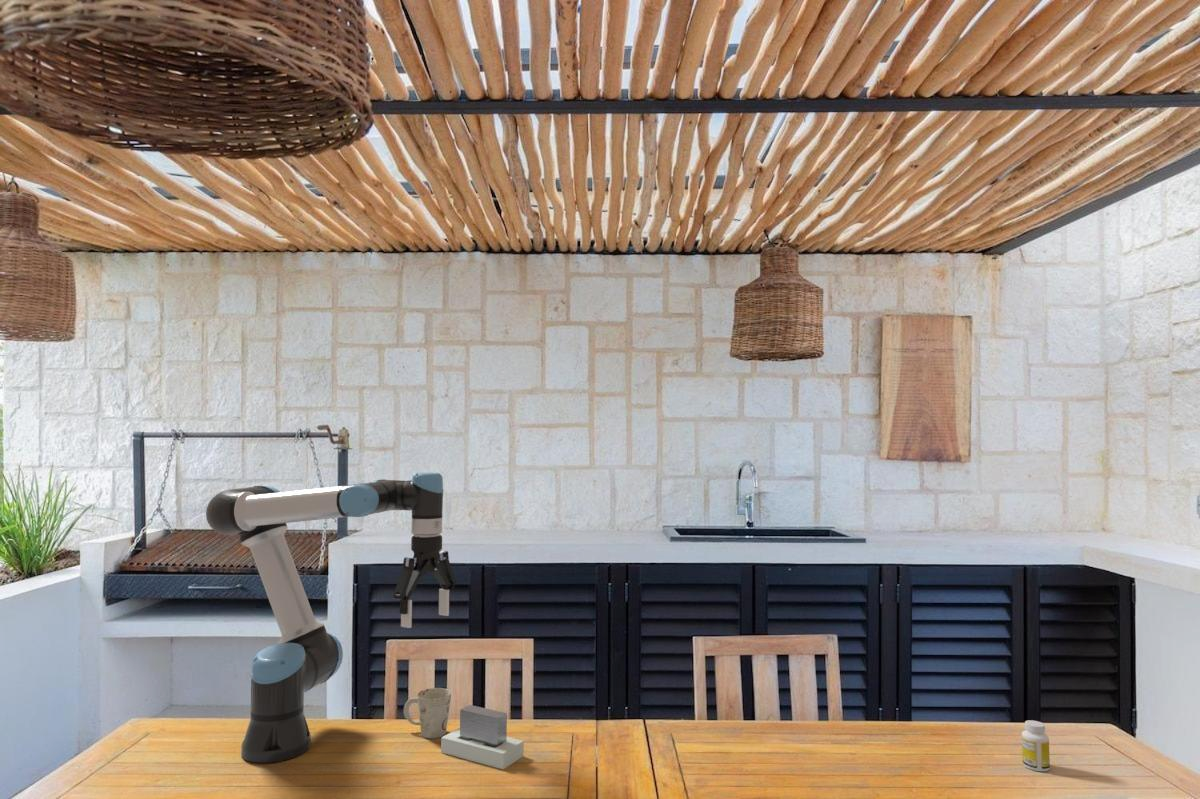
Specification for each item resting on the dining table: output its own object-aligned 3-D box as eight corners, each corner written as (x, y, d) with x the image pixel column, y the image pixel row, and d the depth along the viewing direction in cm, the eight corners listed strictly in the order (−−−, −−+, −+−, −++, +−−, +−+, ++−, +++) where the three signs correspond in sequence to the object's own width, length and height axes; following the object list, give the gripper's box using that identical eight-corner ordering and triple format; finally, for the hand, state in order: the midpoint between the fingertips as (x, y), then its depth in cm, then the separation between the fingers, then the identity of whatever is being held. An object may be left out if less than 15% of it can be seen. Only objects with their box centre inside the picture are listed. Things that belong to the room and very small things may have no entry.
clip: (459, 752, 177) (460, 709, 177) (468, 747, 180) (469, 704, 180) (497, 762, 171) (497, 718, 172) (506, 756, 174) (506, 713, 175)
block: (441, 752, 176) (441, 737, 177) (462, 740, 183) (463, 726, 184) (503, 769, 168) (503, 753, 168) (523, 756, 175) (523, 740, 175)
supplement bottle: (1046, 764, 172) (1045, 720, 173) (1052, 774, 167) (1051, 729, 168) (1020, 760, 174) (1019, 717, 175) (1025, 770, 169) (1024, 726, 169)
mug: (442, 742, 183) (443, 700, 183) (394, 737, 185) (395, 696, 186) (455, 728, 191) (456, 689, 191) (410, 724, 193) (410, 685, 194)
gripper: (402, 542, 174) (401, 634, 173) (470, 530, 196) (469, 612, 195) (378, 539, 177) (377, 630, 176) (448, 528, 199) (447, 608, 198)
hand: (425, 621), depth 186 cm, fingers open, 13 cm apart
